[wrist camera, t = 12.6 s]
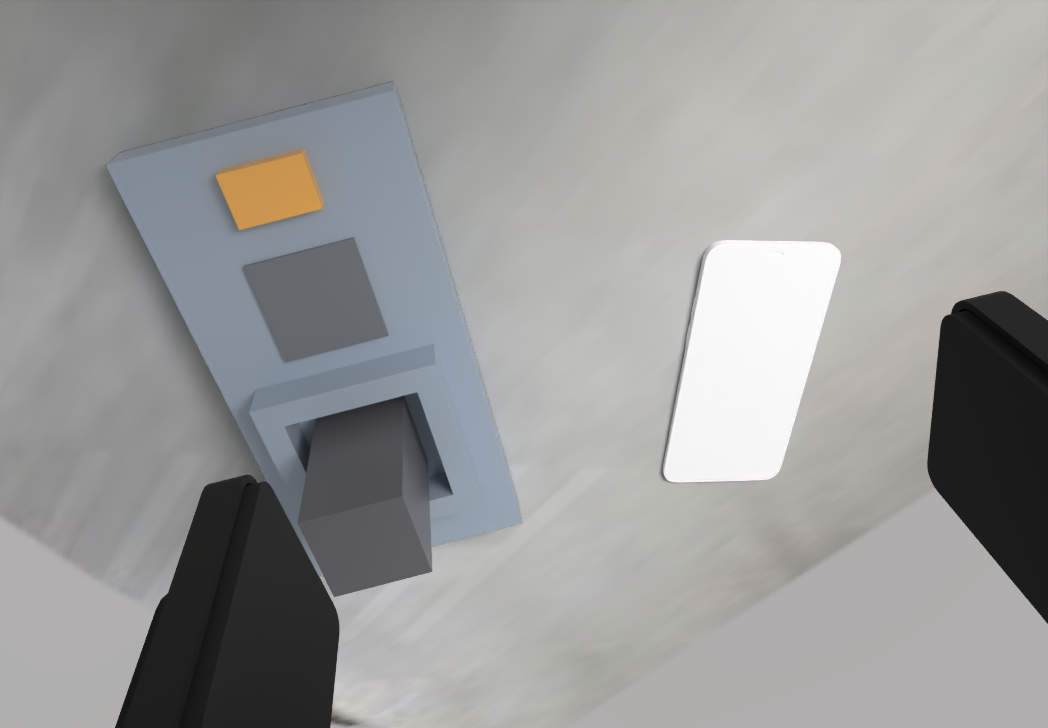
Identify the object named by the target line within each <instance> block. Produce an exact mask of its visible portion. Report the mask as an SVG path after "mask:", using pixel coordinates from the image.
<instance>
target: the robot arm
mask: <svg viewBox="0 0 1048 728" xmlns="http://www.w3.org/2000/svg"><path fill="white" fill-rule="evenodd" d="M927 467H928V473H929V476H930V479H931V481H932V483H933V485H934V487H935V488H936V490H937V491H938V492H939V494H940V495H941V496H942V497H943V498H944V499H945V501H946V502H947V503H948V504H949V506H950V507H951V508H952V509H953V510H954V511H955V513H956V514H957V515H958V516H959V517H960V519H961V520H962V521H963V522H964V524H965V525H966V526H967V527H968V528H969V530H970V531H971V532H972V533H973V534H974V536H975V537H976V538H977V539H978V540H979V542H980V543H981V544H982V545H983V546H984V548H985V549H986V550H987V551H988V552H989V554H990V555H991V556H992V557H993V558H994V560H995V561H996V562H997V563H998V564H999V566H1000V567H1001V568H1002V569H1003V570H1004V572H1005V573H1006V574H1007V575H1008V576H1009V578H1010V579H1011V580H1012V581H1013V583H1014V584H1015V585H1016V586H1017V587H1018V588H1019V590H1020V591H1021V592H1022V593H1023V595H1024V596H1025V597H1026V598H1027V599H1028V600H1029V602H1030V603H1031V604H1032V605H1033V606H1034V608H1035V609H1036V610H1037V611H1038V613H1039V614H1040V615H1041V616H1042V617H1043V619H1044V620H1045V621H1046V622H1047V623H1048V320H1046V319H1045V318H1044V317H1042V316H1041V315H1039V314H1038V313H1037V312H1035V311H1034V310H1032V309H1031V308H1030V307H1028V306H1027V305H1026V304H1024V303H1023V302H1021V301H1020V300H1019V299H1017V298H1016V297H1014V296H1013V295H1012V294H1010V293H1007V292H1005V291H999V292H995V293H991V294H987V295H982V296H978V297H974V298H970V299H966V300H962V301H959V302H958V303H956V304H955V305H954V307H953V309H952V312H951V314H950V315H947V316H945V317H944V318H943V320H942V323H941V328H940V339H939V349H938V359H937V369H936V380H935V390H934V400H933V410H932V420H931V431H930V441H929V451H928V461H927ZM338 642H339V620H338V615H337V611H336V608H335V606H334V604H333V602H332V600H331V598H330V596H329V595H328V593H327V591H326V589H325V587H324V585H323V583H322V581H321V579H320V577H319V576H318V574H317V572H316V570H315V568H314V566H313V564H312V562H311V560H310V559H309V557H308V555H307V553H306V551H305V549H304V547H303V545H302V543H301V541H300V540H299V538H298V536H297V534H296V532H295V530H294V528H293V526H292V524H291V523H290V521H289V519H288V517H287V515H286V513H285V511H284V509H283V507H282V505H281V504H280V502H279V500H278V498H277V496H276V494H275V492H274V490H273V489H272V487H271V485H270V484H269V483H267V482H260V483H257V481H256V480H255V479H254V478H253V477H252V476H251V475H244V476H240V477H236V478H232V479H228V480H224V481H220V482H216V483H211V484H208V485H207V486H205V488H204V490H203V492H202V494H201V497H200V500H199V503H198V506H197V509H196V512H195V515H194V518H193V521H192V524H191V527H190V530H189V533H188V536H187V539H186V542H185V545H184V548H183V551H182V554H181V556H180V559H179V562H178V565H177V568H176V571H175V574H174V577H173V580H172V583H171V586H170V589H169V592H168V594H167V595H166V596H164V597H163V598H162V599H161V601H160V603H159V605H158V607H157V609H156V611H155V614H154V617H153V620H152V622H151V625H150V628H149V631H148V634H147V637H146V640H145V643H144V646H143V648H142V651H141V654H140V657H139V660H138V663H137V666H136V669H135V672H134V675H133V677H132V681H131V683H130V686H129V689H128V692H127V695H126V698H125V700H124V703H123V707H122V709H121V712H120V715H119V718H118V721H117V724H116V726H115V728H330V724H331V714H332V704H333V693H334V683H335V673H336V662H337V652H338Z"/></svg>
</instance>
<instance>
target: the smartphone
mask: <svg viewBox="0 0 1048 728" xmlns="http://www.w3.org/2000/svg"><path fill="white" fill-rule="evenodd" d="M840 262H841V254H840V251H839V250H838V249H837V248H836V247H835V246H834V245H832V244H830V243H827V242H797V241H739V240H724V241H718V242H715V243H713V244H711V245H710V246H709V247H708V248H707V249H706V251H705V253H704V255H703V259H702V263H701V269H700V274H699V279H698V284H697V290H696V295H695V298H694V302H693V307H692V312H691V317H690V318H691V321H690V324H689V327H688V332H687V338H686V348H685V353H684V358H683V363H682V369H681V374H680V379H679V384H678V390H677V395H676V400H675V405H674V411H673V416H672V421H671V426H670V431H669V434H670V435H669V436H668V439H669V440H668V442H667V444H668V445H667V447H666V453H665V458H664V463H663V474H664V476H665V478H666V479H667V480H669V481H671V482H713V481H749V480H766V479H770V478H772V477H774V476H775V475H776V474H777V473H778V472H779V470H780V468H781V465H782V462H783V459H784V455H785V452H786V448H787V445H788V442H789V438H790V435H791V431H792V428H793V424H794V421H795V417H796V414H797V411H798V407H799V404H800V400H801V397H802V393H803V390H804V387H805V383H806V380H807V376H808V373H809V369H810V366H811V362H812V359H813V356H814V352H815V349H816V345H817V342H818V338H819V335H820V332H821V328H822V325H823V321H824V318H825V314H826V311H827V308H828V304H829V301H830V297H831V294H832V290H833V287H834V283H835V280H836V277H837V273H838V270H839V266H840Z"/></svg>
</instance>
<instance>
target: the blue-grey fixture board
mask: <svg viewBox="0 0 1048 728" xmlns="http://www.w3.org/2000/svg"><path fill="white" fill-rule="evenodd" d="M105 166H106V168H107V170H108V172H109V174H110V175H111V177H112V179H113V181H114V183H115V185H116V187H117V189H118V191H119V193H120V195H121V197H122V199H123V201H124V203H125V205H126V207H127V209H128V211H129V213H130V215H131V217H132V219H133V221H134V223H135V225H136V227H137V229H138V230H139V232H140V234H141V236H142V238H143V240H144V242H145V244H146V246H147V248H148V250H149V252H150V254H151V256H152V258H153V260H154V262H155V264H156V266H157V268H158V270H159V272H160V274H161V276H162V278H163V280H164V282H165V283H166V285H167V287H168V289H169V291H170V293H171V295H172V297H173V299H174V301H175V303H176V305H177V307H178V309H179V311H180V313H181V315H182V317H183V319H184V321H185V323H186V325H187V327H188V329H189V331H190V333H191V335H192V336H193V338H194V340H195V342H196V344H197V346H198V348H199V350H200V352H201V354H202V356H203V358H204V360H205V362H206V364H207V366H208V368H209V370H210V372H211V374H212V376H213V378H214V380H215V382H216V384H217V386H218V388H219V389H220V391H221V393H222V395H223V397H224V399H225V401H226V403H227V405H228V407H229V409H230V411H231V413H232V415H233V417H234V419H235V421H236V423H237V425H238V427H239V429H240V431H241V433H242V435H243V437H244V439H245V441H246V442H247V444H248V446H249V448H250V450H251V452H252V454H253V456H254V458H255V460H256V462H257V464H258V466H259V468H260V470H261V472H262V474H263V476H264V478H265V480H266V482H267V483H269V484H270V485H271V487H272V489H273V490H274V492H275V494H276V496H277V498H278V500H279V502H280V504H281V505H282V507H283V509H284V511H285V513H286V515H287V517H288V519H289V521H290V523H291V524H292V526H293V528H294V530H295V532H296V534H297V536H298V538H299V540H300V541H301V543H302V545H303V547H304V549H305V551H306V553H307V555H308V557H309V559H310V560H311V562H312V564H313V566H314V568H315V570H316V572H317V574H318V576H321V575H323V574H322V572H321V570H320V568H319V566H318V564H317V562H316V560H315V558H314V556H313V554H312V552H311V550H310V548H309V546H308V544H307V542H306V540H305V538H304V536H303V534H302V532H301V530H300V528H299V526H298V524H297V523H298V517H299V512H300V506H301V501H302V495H303V489H304V484H305V478H306V473H307V467H308V461H309V456H310V450H311V444H312V439H313V433H314V428H315V422H316V418H319V417H323V416H327V415H331V414H335V413H339V412H343V411H346V410H350V409H354V408H358V407H362V406H366V405H370V404H373V403H377V402H381V401H385V400H389V399H393V398H397V397H400V396H405V399H406V401H407V404H408V407H409V410H410V412H411V415H412V418H413V421H414V424H415V426H416V429H417V432H418V435H419V437H420V440H421V443H422V446H423V448H424V451H425V454H426V457H427V459H428V474H429V500H430V527H431V547H433V546H437V545H441V544H445V543H448V542H452V541H456V540H460V539H464V538H468V537H472V536H475V535H479V534H483V533H487V532H491V531H495V530H499V529H502V528H506V527H510V526H514V525H518V524H522V518H521V513H520V507H519V502H518V498H517V495H516V491H515V488H514V484H513V481H512V478H511V474H510V471H509V468H508V464H507V461H506V457H505V454H504V451H503V447H502V444H501V441H500V437H499V434H498V430H497V427H496V424H495V420H494V417H493V414H492V410H491V407H490V403H489V400H488V397H487V393H486V390H485V387H484V383H483V380H482V376H481V373H480V370H479V366H478V363H477V360H476V356H475V353H474V349H473V346H472V343H471V339H470V336H469V333H468V329H467V326H466V322H465V319H464V316H463V312H462V309H461V306H460V302H459V299H458V295H457V292H456V289H455V285H454V282H453V279H452V275H451V272H450V268H449V265H448V262H447V258H446V255H445V252H444V248H443V245H442V241H441V238H440V235H439V231H438V228H437V225H436V221H435V218H434V214H433V211H432V208H431V204H430V201H429V198H428V194H427V191H426V187H425V184H424V181H423V177H422V174H421V171H420V167H419V164H418V160H417V157H416V154H415V150H414V147H413V144H412V140H411V137H410V133H409V130H408V127H407V123H406V120H405V117H404V113H403V110H402V106H401V103H400V100H399V96H398V93H397V90H396V86H395V83H394V81H393V82H389V83H385V84H381V85H377V86H374V87H370V88H366V89H362V90H358V91H354V92H350V93H347V94H343V95H339V96H335V97H331V98H327V99H324V100H320V101H316V102H312V103H308V104H304V105H300V106H297V107H293V108H289V109H285V110H281V111H277V112H273V113H270V114H266V115H262V116H258V117H254V118H250V119H247V120H243V121H239V122H235V123H231V124H227V125H223V126H220V127H216V128H212V129H208V130H204V131H200V132H196V133H193V134H189V135H185V136H181V137H177V138H173V139H170V140H166V141H162V142H158V143H154V144H150V145H146V146H143V147H139V148H135V149H131V150H127V151H123V152H120V153H119V154H118V155H117V156H116V157H115V158H113V159H112V160H111V161H110V162H109V163H107V164H106V165H105Z"/></svg>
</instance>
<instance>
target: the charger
mask: <svg viewBox="0 0 1048 728" xmlns="http://www.w3.org/2000/svg"><path fill="white" fill-rule="evenodd" d="M297 524H298V526H299V528H300V530H301V532H302V534H303V536H304V538H305V540H306V542H307V544H308V546H309V548H310V550H311V552H312V554H313V556H314V558H315V560H316V562H317V564H318V566H319V568H320V570H321V572H322V574H323V576H324V578H325V580H326V582H327V584H328V586H329V588H330V590H331V592H332V594H333V596H334V597H336V596H340V595H344V594H348V593H352V592H355V591H359V590H363V589H367V588H371V587H375V586H379V585H383V584H386V583H390V582H394V581H398V580H402V579H406V578H410V577H413V576H417V575H421V574H425V573H429V572H432V553H431V527H430V500H429V474H428V459H427V457H426V454H425V451H424V448H423V446H422V443H421V440H420V437H419V435H418V432H417V429H416V426H415V424H414V421H413V418H412V415H411V412H410V410H409V407H408V404H407V401H406V399H405V396H400V397H397V398H393V399H389V400H385V401H381V402H377V403H373V404H370V405H366V406H362V407H358V408H354V409H350V410H346V411H343V412H339V413H335V414H331V415H327V416H323V417H319V418H316V422H315V428H314V433H313V439H312V444H311V450H310V456H309V461H308V467H307V473H306V478H305V484H304V489H303V495H302V501H301V506H300V512H299V517H298V523H297Z"/></svg>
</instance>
